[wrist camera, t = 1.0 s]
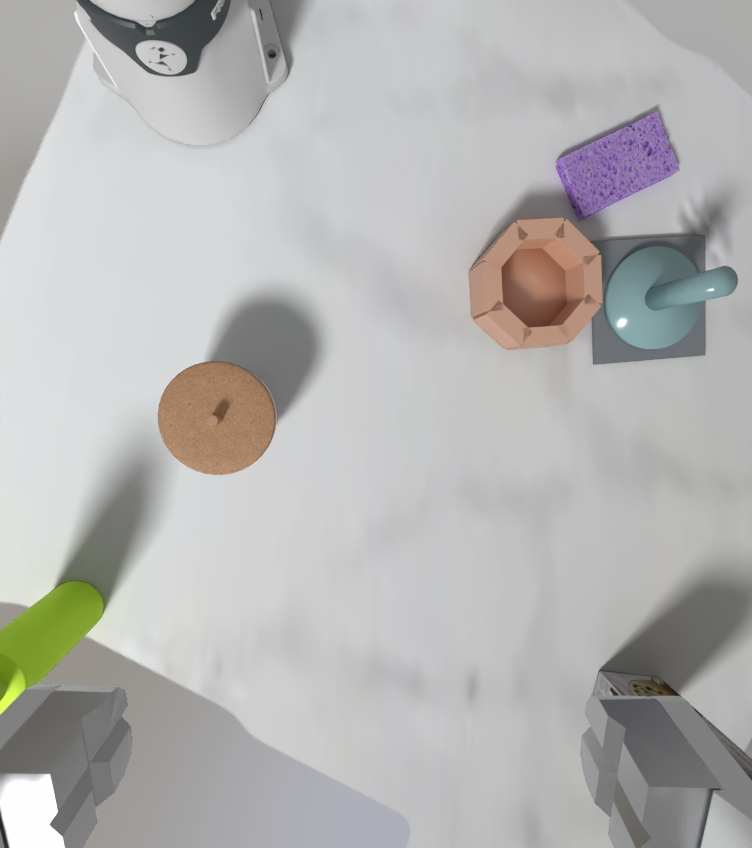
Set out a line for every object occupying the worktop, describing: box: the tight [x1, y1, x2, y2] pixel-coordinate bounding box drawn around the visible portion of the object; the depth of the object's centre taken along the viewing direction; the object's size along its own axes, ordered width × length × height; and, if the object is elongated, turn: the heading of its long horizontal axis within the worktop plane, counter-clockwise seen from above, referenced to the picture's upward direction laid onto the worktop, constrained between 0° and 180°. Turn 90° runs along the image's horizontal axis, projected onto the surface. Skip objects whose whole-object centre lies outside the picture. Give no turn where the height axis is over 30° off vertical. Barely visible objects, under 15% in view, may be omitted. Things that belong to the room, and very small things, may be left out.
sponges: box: [556, 111, 680, 220], centre depth 51 cm, size 7×13×2 cm, turn 116°
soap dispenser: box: [0, 581, 104, 715], centre depth 40 cm, size 6×7×20 cm
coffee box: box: [593, 671, 752, 780], centre depth 50 cm, size 9×6×16 cm
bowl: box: [469, 218, 603, 350], centre depth 49 cm, size 13×13×4 cm
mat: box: [591, 235, 705, 364], centre depth 53 cm, size 14×14×1 cm
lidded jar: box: [158, 361, 277, 475], centre depth 45 cm, size 11×11×9 cm
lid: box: [604, 246, 738, 350], centre depth 48 cm, size 12×12×10 cm
